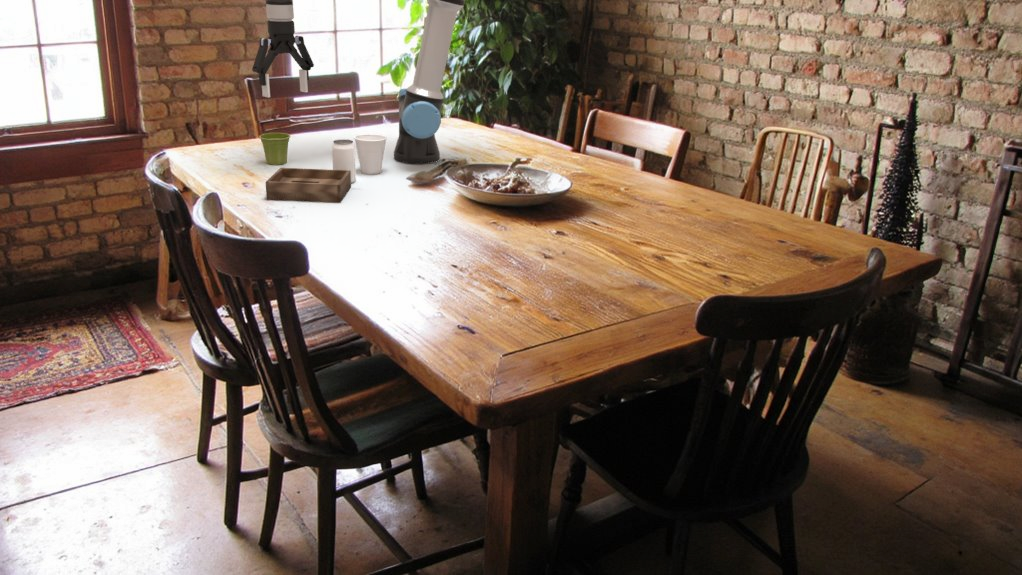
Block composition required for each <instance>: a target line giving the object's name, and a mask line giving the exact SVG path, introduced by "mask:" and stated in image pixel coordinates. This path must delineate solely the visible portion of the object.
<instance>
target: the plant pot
mask: <svg viewBox="0 0 1022 575" xmlns="http://www.w3.org/2000/svg"><path fill="white" fill-rule="evenodd" d="M258 136H259V139H260V140H261V143H262V147H263V152H264V157H265V162H266V164H268V165H272V166H279V165H285V164H287V159H288V150H289V149H288V148H289V142H290V138H291V135H290V134H289V133H284V132H268V133H262V134H260V135H258Z"/></svg>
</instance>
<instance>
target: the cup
mask: <svg viewBox="0 0 1022 575" xmlns="http://www.w3.org/2000/svg"><path fill="white" fill-rule="evenodd" d="M387 139H388V137H387V136H386V135H383V134H377V133H361V134H357V135H354V137H353V140H354V142H355V148H356V150H357V151H356V152H357V156H358V162H359V169H360V172H361V173H362V174H363V175H369V176H370V175H373V176H374V175H378V174H380V173H382V171H383V170H382V169H383V161H384V154H385V150H386V142H387Z"/></svg>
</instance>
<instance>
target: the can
mask: <svg viewBox="0 0 1022 575" xmlns="http://www.w3.org/2000/svg"><path fill="white" fill-rule="evenodd" d="M332 142H333V144H332V147H331V152H332V153H331V154H332V156H331V157H332V158H331V159H332V170H351V184H353V183H355V182H356V151H355V148H356V146H355V145H354V143H353V140H351V139H336V140H333V141H332Z"/></svg>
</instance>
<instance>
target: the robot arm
mask: <svg viewBox="0 0 1022 575" xmlns="http://www.w3.org/2000/svg"><path fill="white" fill-rule="evenodd" d="M426 1H427V3H428V6H427V7H428V8H427V12H426V17H425V20H424V21H425V22H424V28H423V32H422V37H421V42H420V47H419V53H418V57H417V62H416V67H415V72H414V77H413V82H412V84H411V85H409V86H408V87H407V88H401V89H399V92H398V96H397V99H398V138H397V141H396V145H395V148H394V150H393V160H395V161H396V162H399V163H404V164H411V165H412V164H413V165H426V164H432V163H433V164H434V163H437V162H439V161H440V160H441V157H440V156H441V152H440V148H439V146H438V142H437V140H436V136H435V134H436V133H437V132H438V130H439V129H440V126H441V124H442V123H441V122H442V116H441V114H442V108H443V103H444V98H445V96H444V95H443V93H442V92H441V90H442V85H443V84H442V83H443V79H444V75H445V70H446V67H447V61H448V57H449V52H450V46H451V42H452V38H453V34H454V29H455V24H456V18H457V14H458V12H459V10H461V9H463V8H464V7H465V1H466V0H426ZM265 6H266V7H265V10H266V18H267V19H268V21H266V22H267V33H268V35H269V38H263V37H260V38H259V47H258V49H257V53H256V55H255V59H254V61H253V62H254V63H253V65H252V68H251V71H252V72H253V73H257V75H258V81H259V85H260V86H261V92H262V93H261V94H262V95H261V96H262V97H263V98H264V97H265V98H271V88H270V77H269V75H270V74H269V73H268V74H267V72H268V71H269V69H270V67H271V65H272V64H273V62H274V60H275V58H276V57H277V56H278V55H279V54H280V55H281V54H290V56H291V57H292V59H293V60H294V61H295V62H296V64H298V66H299V67H300V69H298V73H299V75H298V76H299V78H298V79H299V92H302V93H309V90H308V88H309V87H308V86H309V85H308V81H309V80H310V76H309V71H311V70H312V69H311V68H314V67H315V64H314V62H313V60H312V58H311V56H310V54H309V50H308V48H307V47H306V45H305V39H304V37H303V36H302V35H294V34H295V32H296V31H295V29H296V28H295V22H294V20H293V19H294V18H295V12H294V0H265ZM294 45H296V47H297V48H296V47H295V46H294ZM298 51H299V52H298ZM439 159H440V160H439ZM438 160H439V161H438ZM436 161H437V162H436Z"/></svg>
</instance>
